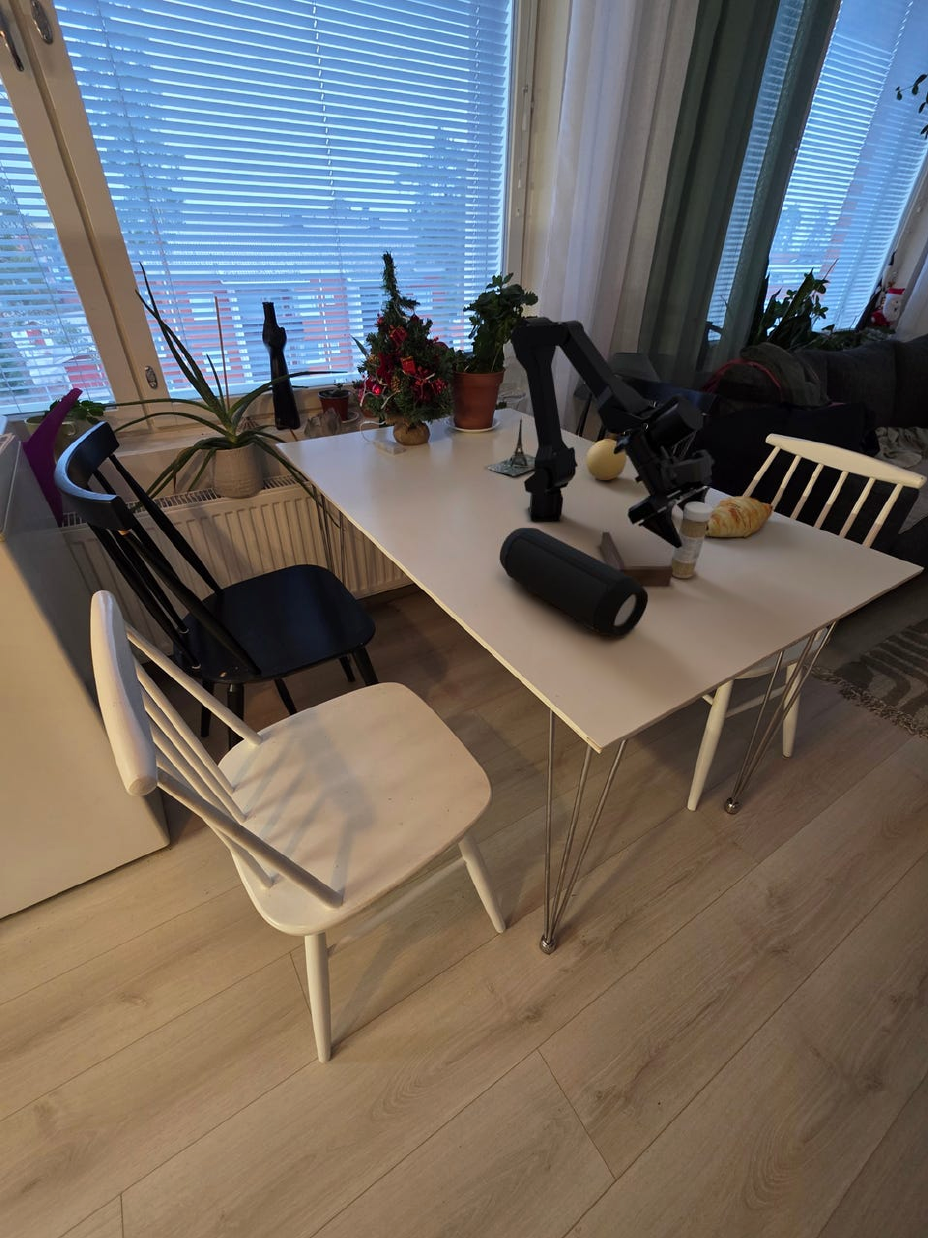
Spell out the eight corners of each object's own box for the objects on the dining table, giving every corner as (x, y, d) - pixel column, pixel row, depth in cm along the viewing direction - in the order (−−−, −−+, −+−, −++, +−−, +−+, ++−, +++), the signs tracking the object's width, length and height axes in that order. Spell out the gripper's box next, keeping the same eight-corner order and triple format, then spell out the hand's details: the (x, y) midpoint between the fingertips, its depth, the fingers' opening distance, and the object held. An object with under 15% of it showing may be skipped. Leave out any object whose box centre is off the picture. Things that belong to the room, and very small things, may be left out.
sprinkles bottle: (680, 565, 100) (699, 498, 93) (698, 576, 97) (719, 508, 89) (662, 570, 99) (679, 503, 91) (680, 582, 96) (699, 513, 88)
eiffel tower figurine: (514, 478, 136) (517, 425, 128) (486, 468, 142) (487, 417, 134) (551, 464, 144) (556, 414, 136) (523, 455, 150) (526, 406, 142)
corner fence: (616, 586, 95) (620, 569, 92) (600, 547, 106) (602, 531, 104) (668, 586, 94) (673, 569, 92) (646, 547, 106) (650, 531, 104)
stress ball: (623, 487, 131) (631, 447, 125) (583, 484, 133) (589, 445, 127) (621, 472, 139) (628, 434, 133) (583, 470, 141) (588, 432, 135)
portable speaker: (644, 628, 84) (657, 574, 79) (603, 652, 80) (614, 597, 74) (533, 564, 101) (538, 516, 95) (494, 581, 96) (496, 531, 90)
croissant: (705, 558, 109) (730, 535, 102) (677, 521, 112) (700, 496, 106) (771, 533, 117) (799, 510, 110) (743, 499, 121) (768, 475, 114)
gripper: (657, 449, 82) (706, 537, 81) (716, 425, 92) (759, 503, 91) (607, 483, 91) (651, 562, 91) (665, 458, 101) (704, 529, 101)
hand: (693, 538), depth 93 cm, fingers open, 9 cm apart
